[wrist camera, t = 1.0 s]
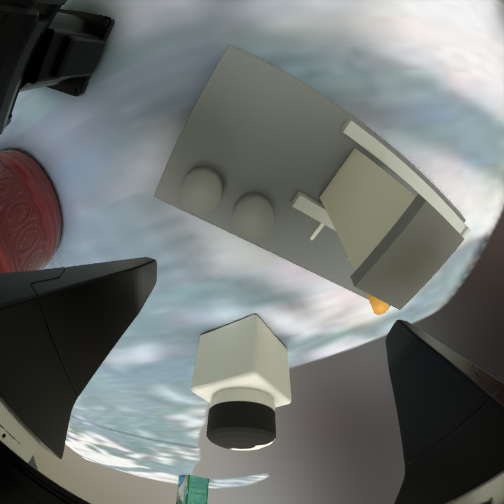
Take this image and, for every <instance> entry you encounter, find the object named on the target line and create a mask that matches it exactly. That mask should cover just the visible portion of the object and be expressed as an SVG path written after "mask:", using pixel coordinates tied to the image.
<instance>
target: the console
mask: <svg viewBox="0 0 504 504" xmlns="http://www.w3.org/2000/svg"><path fill="white" fill-rule="evenodd" d="M354 148H356V149H357V150H358V151H360V152H361V153H362V154H364V155H365V156H366V157H368V158H369V159H370V160H372V161H373V162H374V163H376V164H377V165H378V166H379V167H381V168H382V169H383V170H384V171H386V172H387V173H388V174H389V175H391V176H392V177H393V178H394V179H395V180H397V181H398V182H399V183H400V184H401V185H403V186H404V187H405V188H406V189H407V190H408V191H409V192H411V193H412V194H413V195H414V196H415V197H416V196H417V195H418V194H420V195H421V196H422V197H423V198H424V199H425V200H426V201H427V202H428V203H430V204H431V205H432V206H433V207H434V208H435V209H436V210H437V211H438V212H439V213H440V214H441V215H442V216H443V217H444V218H445V219H446V220H447V221H448V222H449V223H450V224H451V225H452V226H453V227H454V229H455V230H456V231H457V232H458V233H459V234H460V235H461V236H462V237H463V238H464V237H465V236H466V235H467V234H468V232H469V231H470V229H469V228H468V227H467V226H466V225H465V224H464V222H465V221H466V220H465V219H464V217H463V216H462V215H461V214H460V213H459V212H458V211H457V209H456V208H455V207H454V206H453V205H452V204H451V203H450V202H449V201H448V200H447V199H446V197H445V196H444V195H443V194H442V193H441V192H440V191H439V190H438V189H437V188H436V187H435V186H434V185H433V184H432V183H431V182H430V181H429V180H428V179H427V178H426V177H425V176H424V175H423V174H422V173H421V172H420V171H419V170H418V169H416V168H415V167H414V166H413V165H412V164H411V163H410V162H409V161H408V160H407V159H406V158H404V157H403V156H402V155H401V154H400V153H399V152H398V151H396V150H395V149H394V148H393V147H392V146H391V145H389V144H388V143H387V142H386V141H385V140H383V139H382V138H381V137H380V136H378V135H377V134H376V133H375V132H373V131H372V130H371V129H370V128H368V127H367V126H366V125H364V124H363V123H362V122H360V121H359V120H358V119H356V118H355V117H354V116H352V115H351V114H350V113H348V112H347V111H345V110H344V109H343V108H341V107H340V106H338V105H337V104H335V103H334V102H332V101H331V100H329V99H328V98H326V97H325V96H323V95H322V94H320V93H319V92H317V91H315V90H314V89H312V88H311V87H309V86H307V85H306V84H304V83H302V82H301V81H299V80H297V79H296V78H294V77H292V76H291V75H289V74H287V73H285V72H283V71H282V70H280V69H278V68H276V67H274V66H272V65H271V64H269V63H267V62H265V61H263V60H261V59H259V58H257V57H255V56H253V55H251V54H249V53H247V52H244V51H242V50H240V49H238V48H236V47H234V46H231V45H229V47H228V48H227V50H226V51H225V53H224V55H223V56H222V58H221V60H220V61H219V63H218V65H217V66H216V68H215V70H214V72H213V73H212V75H211V77H210V79H209V80H208V82H207V84H206V86H205V88H204V89H203V91H202V93H201V95H200V97H199V99H198V101H197V103H196V104H195V106H194V108H193V110H192V112H191V114H190V116H189V118H188V120H187V122H186V124H185V126H184V128H183V130H182V133H181V135H180V137H179V139H178V141H177V143H176V145H175V148H174V150H173V152H172V154H171V156H170V159H169V161H168V163H167V165H166V168H165V170H164V172H163V175H162V177H161V180H160V182H159V185H158V187H157V189H156V192H155V194H154V197H156V198H158V199H160V200H162V201H164V202H166V203H168V204H171V205H173V206H175V207H177V208H179V209H181V210H183V211H185V212H188V213H190V214H192V215H194V216H196V217H198V218H200V219H202V220H204V221H207V222H209V223H211V224H213V225H215V226H217V227H219V228H221V229H223V230H226V231H228V232H230V233H232V234H234V235H236V236H238V237H240V238H242V239H244V240H246V241H249V242H251V243H253V244H255V245H257V246H259V247H261V248H263V249H265V250H267V251H269V252H272V253H274V254H276V255H278V256H280V257H282V258H284V259H286V260H288V261H290V262H292V263H294V264H296V265H299V266H301V267H303V268H305V269H307V270H309V271H311V272H313V273H315V274H317V275H319V276H321V277H323V278H325V279H327V280H329V281H332V282H334V283H336V284H338V285H340V286H342V287H344V288H346V289H348V290H350V291H352V292H354V293H356V294H358V295H360V296H362V297H364V298H366V299H368V300H369V301H370V304H371V306H372V308H373V311H374V313H375V314H377V315H379V314H383V313H385V312H386V311H387V310H388V308H389V307H390V306H391V305H389V304H387V303H385V302H383V301H382V300H380V299H378V298H376V297H374V296H372V295H370V294H368V293H366V292H364V291H362V290H360V289H358V288H356V287H354V285H353V282H352V280H351V277H350V276H351V275H352V274H353V273H354V272H355V271H354V269H353V267H352V265H351V262H350V260H349V258H348V256H347V253H346V251H345V249H344V247H343V245H342V242H341V240H340V238H339V236H338V234H337V232H336V230H335V228H334V226H333V223H332V221H331V219H330V217H329V215H328V213H327V211H326V209H325V207H324V205H323V203H322V201H321V199H320V196H321V195H322V193H323V192H324V191H325V189H326V188H327V186H328V185H329V184H330V182H331V181H332V179H333V178H334V176H335V175H336V174H337V172H338V171H339V169H340V168H341V166H342V165H343V164H344V162H345V161H346V159H347V158H348V156H349V155H350V154H351V152H352V151H353V149H354Z"/></svg>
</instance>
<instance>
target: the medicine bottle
mask: <svg viewBox="0 0 504 504" xmlns="http://www.w3.org/2000/svg"><path fill="white" fill-rule="evenodd" d="M191 390H192V391H193V392H194V393H195V394H197V395H199V396H200V397H202V398H203V399H205V400H206V401H208V402H210V405H209V415H208V425H207V437H208V439H209V440H210V441H211V442H212V443H214V444H216V445H218V446H220V447H223V448H227V449H232V450H254V449H260V448H263V447H265V446H268V445H270V444H271V443H272V442H273V441H274V440H275V439H276V425H275V407H279V406H282V405H286V404H289V403H291V389H290V377H289V365H288V354H287V349H286V348H285V347H284V345H283V344H282V343H281V342H280V341H279V340H278V339H277V338H276V336H275V335H274V334H273V333H272V332H271V331H270V330H269V328H268V327H267V326H266V325H265V324H264V323H263V322H262V320H261V319H260V318H259V317H258V316H257V315H252V316H249V317H247V318H244V319H242V320H239V321H237V322H234V323H231V324H229V325H226V326H224V327H221V328H219V329H216V330H213V331H211V332H208V333H205V334H203V335H201V336H200V339H199V345H198V351H197V356H196V362H195V369H194V375H193V381H192V387H191Z"/></svg>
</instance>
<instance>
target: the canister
mask: <svg viewBox="0 0 504 504" xmlns="http://www.w3.org/2000/svg"><path fill="white" fill-rule="evenodd" d="M61 231H62V221H61V213H60V208H59V204H58V200H57V197H56V194H55V192H54V189H53V187H52V185H51V183H50V181H49V179H48V177H47V176H46V174H45V173H44V171H43V170H42V168H41V167H40V166H39V165H38V164H37V163H36V162H35V161H34V160H33V159H32V158H31V157H30V156H28V155H27V154H25V153H23V152H21V151H18V150H11V149H10V150H5V151H0V273H8V272H22V271H34V270H42V269H43V268H44V267H45V266H46V265H47V263H48V262H49V261H50V260H51V258H52V257H53V255H54V252H55V250H56V248H57V247H58V244H59V242H60V238H61Z"/></svg>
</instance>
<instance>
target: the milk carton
mask: <svg viewBox="0 0 504 504" xmlns="http://www.w3.org/2000/svg"><path fill="white" fill-rule="evenodd" d="M208 483H209V479H207V478H202V477H197V476H193V475H183V476H179V483H178V493H177V502H176V504H207V497H208Z"/></svg>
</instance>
